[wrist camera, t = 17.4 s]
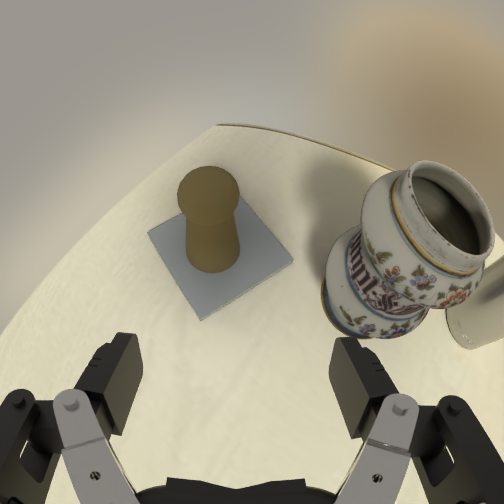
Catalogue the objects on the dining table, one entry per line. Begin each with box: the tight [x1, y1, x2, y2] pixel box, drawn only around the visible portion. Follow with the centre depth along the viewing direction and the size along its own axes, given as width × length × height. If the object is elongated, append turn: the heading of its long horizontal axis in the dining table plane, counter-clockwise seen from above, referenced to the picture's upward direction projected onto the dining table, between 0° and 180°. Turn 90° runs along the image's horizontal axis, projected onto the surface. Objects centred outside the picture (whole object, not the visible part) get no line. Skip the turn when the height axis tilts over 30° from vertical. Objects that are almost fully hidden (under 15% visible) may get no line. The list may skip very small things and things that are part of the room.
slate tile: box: [147, 195, 294, 321], centre depth 33 cm, size 12×12×1 cm
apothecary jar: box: [321, 160, 495, 339], centre depth 24 cm, size 12×12×18 cm
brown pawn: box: [177, 166, 240, 273], centre depth 27 cm, size 6×6×11 cm
